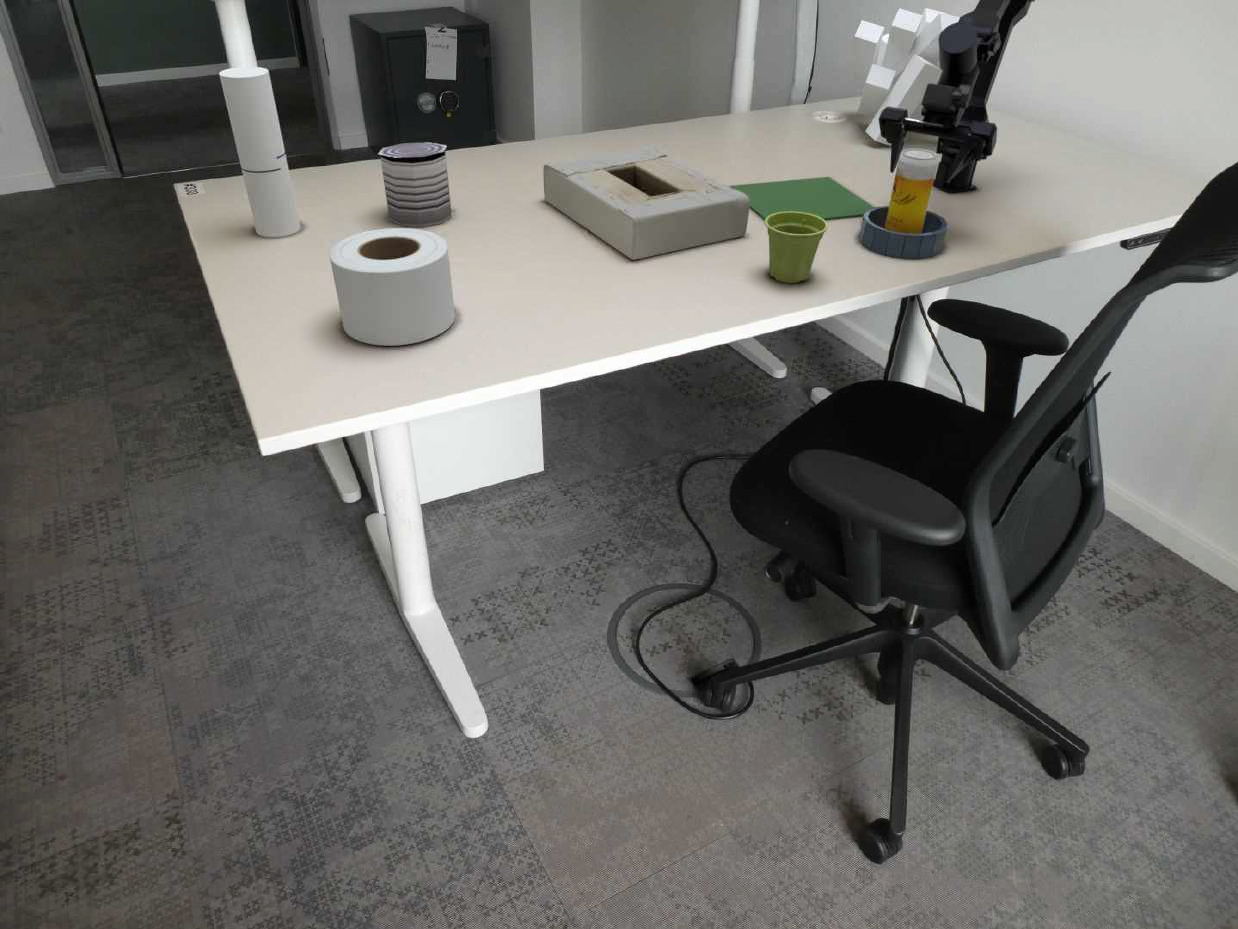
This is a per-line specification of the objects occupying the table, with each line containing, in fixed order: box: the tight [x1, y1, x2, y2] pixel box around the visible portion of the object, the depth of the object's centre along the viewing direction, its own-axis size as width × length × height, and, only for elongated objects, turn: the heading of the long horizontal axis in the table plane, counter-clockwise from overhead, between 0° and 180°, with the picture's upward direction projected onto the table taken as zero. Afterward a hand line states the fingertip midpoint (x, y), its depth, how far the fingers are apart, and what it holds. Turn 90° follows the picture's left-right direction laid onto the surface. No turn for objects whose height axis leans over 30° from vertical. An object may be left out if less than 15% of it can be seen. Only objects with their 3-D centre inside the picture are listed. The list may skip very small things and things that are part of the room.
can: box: [377, 141, 452, 228], centre depth 152 cm, size 11×11×12 cm
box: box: [542, 145, 750, 261], centre depth 155 cm, size 23×8×32 cm
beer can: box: [885, 147, 939, 234], centre depth 145 cm, size 6×6×15 cm
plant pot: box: [764, 211, 829, 284], centre depth 135 cm, size 9×9×9 cm
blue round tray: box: [858, 204, 949, 260], centre depth 149 cm, size 14×14×4 cm
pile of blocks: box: [846, 7, 961, 147], centre depth 195 cm, size 35×30×35 cm
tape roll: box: [329, 227, 456, 347], centre depth 120 cm, size 16×15×11 cm
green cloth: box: [728, 176, 875, 221], centre depth 165 cm, size 22×20×1 cm
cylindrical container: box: [218, 66, 301, 238], centre depth 142 cm, size 7×7×25 cm
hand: (918, 176), depth 145 cm, fingers open, 9 cm apart
